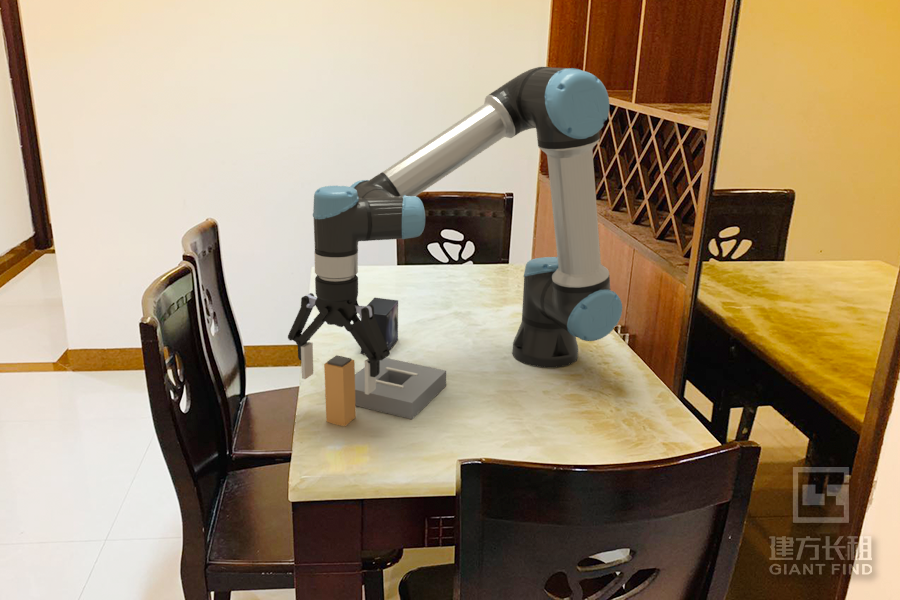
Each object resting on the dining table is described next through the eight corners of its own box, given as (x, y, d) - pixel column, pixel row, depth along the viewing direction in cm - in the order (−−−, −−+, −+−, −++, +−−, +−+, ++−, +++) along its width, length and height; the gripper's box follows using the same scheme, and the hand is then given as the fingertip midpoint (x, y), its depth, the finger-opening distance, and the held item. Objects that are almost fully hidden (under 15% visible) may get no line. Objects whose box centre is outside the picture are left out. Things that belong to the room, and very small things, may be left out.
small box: (387, 357, 165) (387, 314, 162) (360, 354, 167) (359, 311, 163) (399, 340, 175) (399, 299, 172) (373, 337, 176) (373, 296, 173)
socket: (446, 385, 153) (446, 369, 151) (411, 419, 139) (411, 401, 137) (379, 371, 158) (379, 355, 157) (340, 401, 145) (339, 384, 143)
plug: (355, 417, 139) (354, 358, 135) (344, 426, 136) (342, 366, 131) (337, 412, 140) (335, 354, 136) (326, 421, 137) (324, 362, 133)
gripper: (409, 280, 127) (407, 389, 134) (290, 259, 136) (294, 363, 143) (388, 292, 120) (387, 406, 127) (265, 269, 130) (270, 377, 137)
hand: (338, 383), depth 135 cm, fingers open, 13 cm apart
